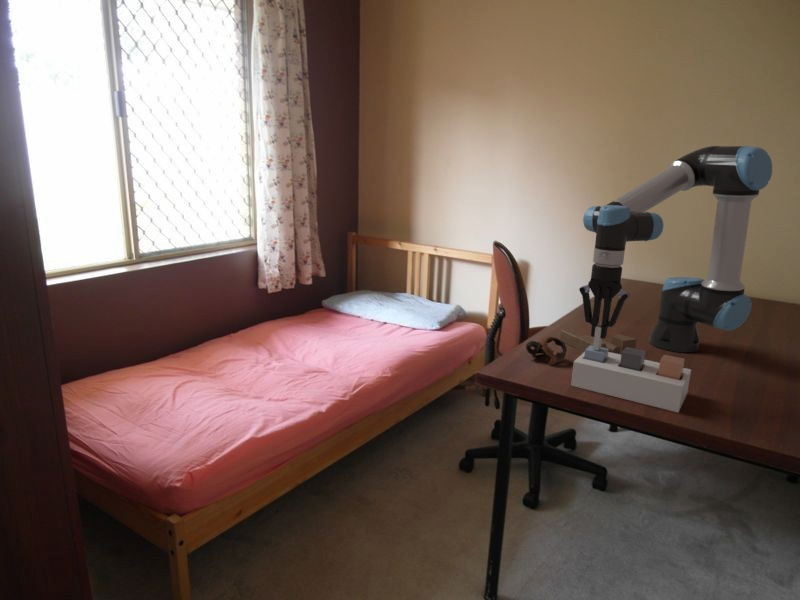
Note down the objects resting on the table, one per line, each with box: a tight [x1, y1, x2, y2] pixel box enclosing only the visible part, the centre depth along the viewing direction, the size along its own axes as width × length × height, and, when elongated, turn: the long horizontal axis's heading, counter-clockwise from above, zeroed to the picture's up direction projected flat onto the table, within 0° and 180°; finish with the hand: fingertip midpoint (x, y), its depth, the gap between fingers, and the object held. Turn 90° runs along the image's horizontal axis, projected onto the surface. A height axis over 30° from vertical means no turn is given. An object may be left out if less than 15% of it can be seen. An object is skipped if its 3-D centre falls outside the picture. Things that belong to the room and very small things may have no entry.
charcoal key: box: [620, 347, 647, 371], centre depth 152 cm, size 5×5×5 cm
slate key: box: [584, 345, 609, 363], centre depth 158 cm, size 5×5×5 cm
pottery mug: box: [525, 336, 568, 366], centre depth 174 cm, size 12×10×8 cm
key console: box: [570, 352, 692, 413], centre depth 153 cm, size 27×14×7 cm, turn 56°
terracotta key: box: [658, 354, 686, 380], centre depth 147 cm, size 5×5×5 cm
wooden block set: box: [559, 328, 637, 355], centre depth 187 cm, size 17×6×18 cm
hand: (596, 348), depth 157 cm, fingers closed
